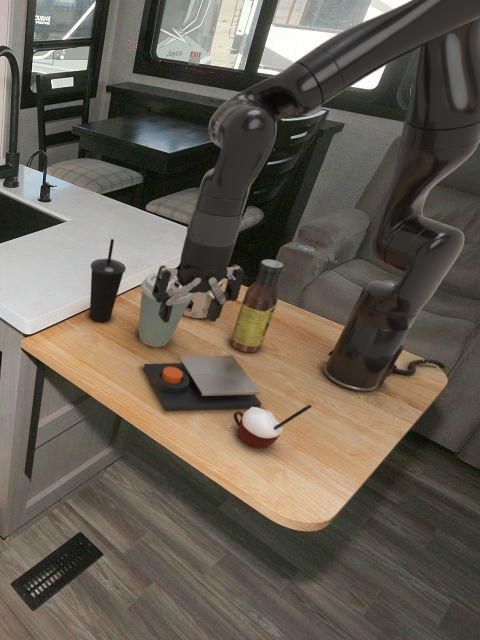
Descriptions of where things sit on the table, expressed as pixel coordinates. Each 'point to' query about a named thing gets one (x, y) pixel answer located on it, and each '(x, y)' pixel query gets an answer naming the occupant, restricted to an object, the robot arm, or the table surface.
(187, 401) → the scale
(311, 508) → the table surface
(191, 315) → the teacup with lid
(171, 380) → the power button
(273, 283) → the sauce bottle
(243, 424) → the cocoa
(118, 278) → the drinking cup
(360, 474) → the table surface
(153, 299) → the disposable coffee cup
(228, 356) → the weighing plate
